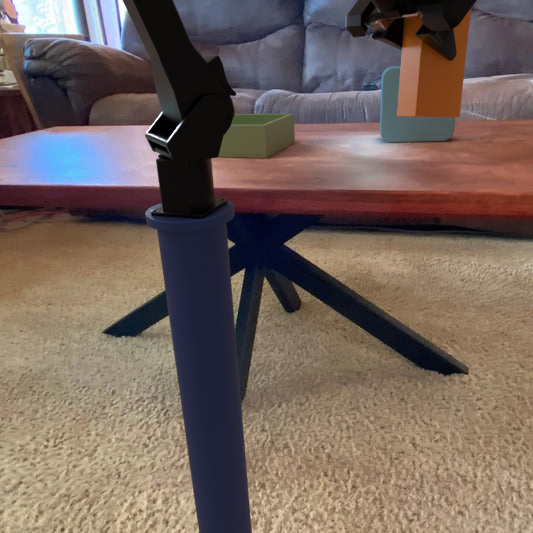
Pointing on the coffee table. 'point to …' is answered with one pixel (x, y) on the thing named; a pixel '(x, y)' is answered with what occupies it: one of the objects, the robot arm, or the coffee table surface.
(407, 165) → the coffee table surface
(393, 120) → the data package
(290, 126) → the open box
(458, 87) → the block
